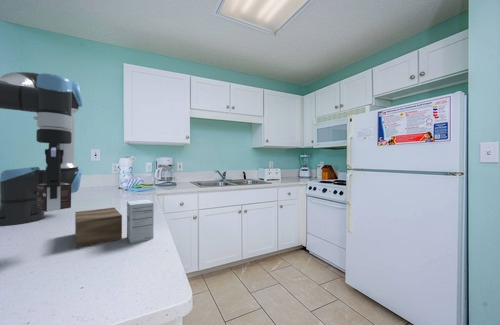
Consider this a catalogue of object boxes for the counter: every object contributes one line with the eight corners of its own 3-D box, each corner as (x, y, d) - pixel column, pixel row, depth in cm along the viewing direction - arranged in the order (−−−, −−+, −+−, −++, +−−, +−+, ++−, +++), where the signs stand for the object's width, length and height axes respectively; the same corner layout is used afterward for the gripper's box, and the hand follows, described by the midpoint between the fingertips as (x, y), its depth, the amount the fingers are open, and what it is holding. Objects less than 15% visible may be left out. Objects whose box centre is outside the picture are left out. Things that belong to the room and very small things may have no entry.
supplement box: (126, 237, 74) (126, 201, 74) (149, 232, 78) (149, 199, 78) (129, 243, 68) (129, 204, 68) (154, 238, 72) (154, 202, 72)
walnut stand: (75, 233, 76) (75, 211, 76) (114, 227, 84) (114, 207, 84) (76, 247, 64) (76, 221, 64) (121, 238, 72) (121, 215, 72)
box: (36, 209, 61) (36, 184, 60) (62, 205, 66) (62, 182, 66) (45, 212, 58) (45, 185, 58) (71, 207, 63) (71, 183, 63)
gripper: (40, 131, 67) (40, 203, 67) (31, 124, 51) (31, 217, 52) (71, 133, 72) (71, 200, 72) (71, 127, 56) (71, 212, 57)
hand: (54, 207), depth 62 cm, fingers closed on box, 8 cm apart
